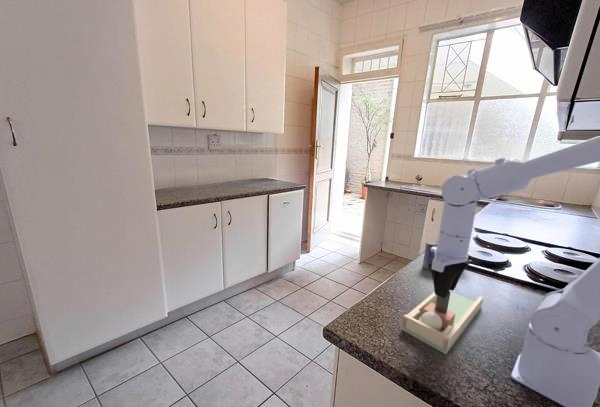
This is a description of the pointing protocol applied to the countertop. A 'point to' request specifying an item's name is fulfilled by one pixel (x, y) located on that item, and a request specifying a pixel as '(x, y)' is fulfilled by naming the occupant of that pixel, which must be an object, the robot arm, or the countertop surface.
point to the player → (442, 310)
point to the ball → (432, 320)
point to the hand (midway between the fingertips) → (444, 292)
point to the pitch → (441, 338)
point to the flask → (428, 255)
